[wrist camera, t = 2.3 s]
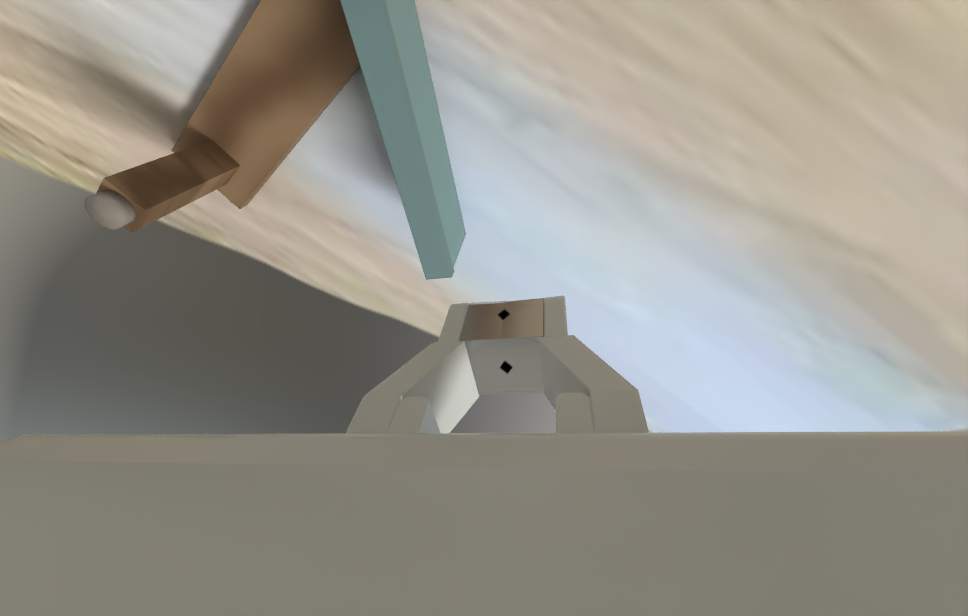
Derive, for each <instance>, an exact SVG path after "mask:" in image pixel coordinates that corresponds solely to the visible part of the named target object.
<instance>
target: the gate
mask: <svg viewBox="0 0 968 616" xmlns="http://www.w3.org/2000/svg"><path fill="white" fill-rule="evenodd" d="M340 1H341V4H342V7H343V10H344V14H345V17H346V20H347V23H348V27H349V30H350V33H351V36H352V40H353V43H354V46H355V49H356V53H357V56H358V59H359V63H360V66H361V69H362V72H363V76H364V79H365V82H366V85H367V89H368V92H369V95H370V98H371V102H372V105H373V108H374V111H375V115H376V118H377V121H378V124H379V128H380V131H381V134H382V137H383V141H384V144H385V147H386V151H387V154H388V157H389V160H390V164H391V167H392V170H393V173H394V177H395V180H396V183H397V186H398V190H399V193H400V196H401V199H402V203H403V206H404V209H405V212H406V216H407V219H408V222H409V225H410V229H411V232H412V235H413V238H414V242H415V245H416V248H417V252H418V255H419V258H420V261H421V265H422V268H423V271H424V274H425V278H426V280H427V279H438V278H449V277H452V276H453V273H454V269H453V267H454V265H455V262H456V259H457V256H458V254H459V251H460V248H461V246H462V243H463V240H464V238H465V235H466V232H465V228H464V223H463V219H462V214H461V210H460V205H459V201H458V196H457V192H456V187H455V183H454V178H453V173H452V169H451V164H450V160H449V155H448V151H447V146H446V142H445V137H444V133H443V128H442V124H441V119H440V115H439V110H438V105H437V101H436V96H435V92H434V87H433V83H432V78H431V74H430V69H429V65H428V60H427V56H426V51H425V47H424V42H423V37H422V33H421V28H420V24H419V19H418V15H417V10H416V6H415V1H414V0H340Z"/></svg>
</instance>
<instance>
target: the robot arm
mask: <svg viewBox="0 0 968 616" xmlns="http://www.w3.org/2000/svg"><path fill="white" fill-rule="evenodd" d="M498 393H499V394H501V393H544V394H545V396H546V397H547V399H548V400H549V401H550V403H551V404H552V406H553V407H554V408H555V409H556V433H450V432H451V430H452V429H453V428H454V427H455V426H456V424H457V423H458V422H459V421H460V419H461V418H462V417H463V416H464V415H465V413H466V412H467V411H468V410H469V408H470V407H471V406H472V405H473V403H474V402H475V401H476V400H477V398H478V397H479V395H480V394H481V395H482V394H498ZM0 616H968V432H707V433H649V431H648V428H647V424H646V420H645V416H644V412H643V408H642V404H641V400H640V396H639V392H638V390H637V389H636V388H635V387H634V386H633V385H631V384H630V383H629V382H628V381H627V380H626V379H624V378H623V377H622V376H621V375H620V374H618V373H617V372H616V371H615V370H614V369H613V368H611V367H610V366H609V365H608V364H607V363H606V362H604V361H603V360H602V359H601V358H600V357H598V356H597V355H596V354H595V353H594V352H593V351H591V350H590V349H589V348H588V347H587V346H586V345H584V344H583V343H582V342H581V341H580V340H578V339H577V338H576V337H575V336H574V335H568V333H567V319H566V306H565V297H564V296H556V297H547V298H540V299H529V300H518V301H498V302H479V303H462V304H453V305H451V306H450V308H449V311H448V314H447V317H446V320H445V323H444V326H443V329H442V332H441V334H440V337H439V341H438V343H432V344H430V345H429V346H428V347H427V348H426V349H424V350H423V351H421V352H420V353H419V354H418V355H416V356H415V357H414V358H412V359H411V360H410V361H409V362H407V363H406V364H405V365H403V366H402V367H401V368H400V369H399V370H397V371H396V372H394V373H393V374H392V375H391V376H389V377H388V378H387V379H385V380H384V381H383V382H382V383H380V384H379V385H378V386H376V387H375V388H374V389H372V390H371V391H370V392H369V393H367V394H366V395H365V396H364V397H363V399H362V401H361V403H360V405H359V407H358V409H357V411H356V413H355V415H354V417H353V419H352V421H351V423H350V425H349V427H348V430H347V432H346V434H123V435H122V434H119V435H118V434H114V435H113V434H110V435H109V434H103V435H102V434H99V435H98V434H94V435H93V434H92V435H91V434H88V435H87V434H85V435H84V434H83V435H82V434H81V435H55V434H50V435H49V434H28V435H20V436H15V437H11V438H8V439H6V440H3V441H0Z"/></svg>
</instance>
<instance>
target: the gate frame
mask: <svg viewBox="0 0 968 616" xmlns="http://www.w3.org/2000/svg"><path fill="white" fill-rule="evenodd" d="M359 67H360V63H359V59H358V56H357V53H356V49H355V46H354V43H353V40H352V36H351V33H350V30H349V27H348V23H347V20H346V17H345V14H344V10H343V7H342V4H341V1H340V0H261V1H260V3H259V5H258V6H257V8H256V10H255V11H254V13H253V15H252V16H251V18H250V20H249V21H248V23H247V25H246V26H245V28H244V30H243V31H242V33H241V35H240V36H239V38H238V40H237V41H236V43H235V45H234V46H233V48H232V50H231V52H230V53H229V55H228V57H227V58H226V60H225V62H224V63H223V65H222V67H221V68H220V70H219V72H218V73H217V75H216V77H215V78H214V80H213V82H212V83H211V85H210V87H209V88H208V90H207V92H206V93H205V95H204V97H203V98H202V100H201V102H200V104H199V105H198V107H197V109H196V110H195V112H194V114H193V115H192V117H191V119H190V120H189V122H188V124H187V125H186V127H185V129H184V130H183V132H182V134H181V135H180V137H179V139H178V140H177V142H176V144H175V145H174V147H173V149H172V151H173V152H174V154H171V155H168V156H165V157H162V158H159V159H157V160H154V161H151V162H148V163H145V164H142V165H140V166H137V167H134V168H131V169H128V170H125V171H123V172H120V173H117V174H114V175H111V176H108V177H105V178H104V179H103V181H102V183H101V185H100V187H99V189H98V191H97V193H96V194H94V195H91V196H89V197H87V198H86V199H85V201H84V205H85V209H86V210H87V212H88V214H89V215H90V216H91V217H92V218H93V219H94V220H95V221H96V222H97V223H99V224H100V225H102V226H104V227H106V228H109V229H118V228H120V227H122V226H123V227H125V228H126V229H127V230H129V231H130V232H134V231H136V230H137V229H139V228H141V227H143V226H145V225H147V224H149V223H151V222H153V221H155V220H157V219H159V218H161V217H163V216H165V215H167V214H169V213H171V212H173V211H175V210H177V209H179V208H181V207H183V206H185V205H187V204H189V203H191V202H193V201H195V200H196V199H198V198H200V197H202V196H204V195H206V194H208V193H210V192H212V191H214V190H216V189H217V190H218V191H219V192H221V193H222V194H223V195H224V196H225V197H226V198H228V199H229V200H230V201H231V202H232V203H233V204H234V205H236V206H237V207H238V208H239V209H241V208H243V207H244V206H246V205H247V204H248V203H249V202H250V201H251V199H252V198H253V197H254V196H255V194H256V193H257V192H258V191H259V190H260V188H261V187H262V186H263V185H264V183H265V182H266V181H267V180H268V179H269V177H270V176H271V175H272V174H273V172H274V171H275V170H276V169H277V167H278V166H279V165H280V164H281V163H282V161H283V160H284V159H285V158H286V156H287V155H288V154H289V153H290V152H291V150H292V149H293V148H294V147H295V145H296V144H297V143H298V142H299V140H300V139H301V138H302V137H303V136H304V134H305V133H306V132H307V131H308V129H309V128H310V127H311V126H312V125H313V123H314V122H315V121H316V120H317V118H318V117H319V116H320V115H321V113H322V112H323V111H324V110H325V109H326V107H327V106H328V105H329V104H330V102H331V101H332V100H333V99H334V98H335V96H336V95H337V94H338V93H339V91H340V90H341V89H342V88H343V86H344V85H345V84H346V83H347V82H348V80H349V79H350V78H351V77H352V75H353V74H354V73H355V72H356V71H357V69H358V68H359Z"/></svg>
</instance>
